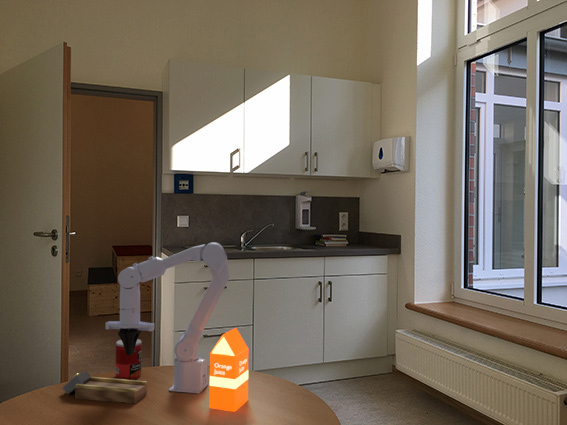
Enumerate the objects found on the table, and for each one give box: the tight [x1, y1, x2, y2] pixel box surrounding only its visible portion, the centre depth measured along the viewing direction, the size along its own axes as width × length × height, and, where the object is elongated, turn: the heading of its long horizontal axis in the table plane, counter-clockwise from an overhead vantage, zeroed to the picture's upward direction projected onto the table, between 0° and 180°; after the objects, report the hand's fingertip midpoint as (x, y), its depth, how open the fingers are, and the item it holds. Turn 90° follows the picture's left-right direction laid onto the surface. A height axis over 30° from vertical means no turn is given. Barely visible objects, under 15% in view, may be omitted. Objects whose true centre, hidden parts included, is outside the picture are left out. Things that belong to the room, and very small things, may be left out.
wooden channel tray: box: [74, 376, 148, 405], centre depth 139 cm, size 18×7×4 cm, turn 79°
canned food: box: [115, 338, 143, 380], centre depth 157 cm, size 8×8×11 cm
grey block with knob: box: [62, 370, 92, 395], centre depth 142 cm, size 6×4×3 cm
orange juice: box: [209, 327, 250, 413], centre depth 135 cm, size 8×9×20 cm
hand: (129, 354), depth 145 cm, fingers closed
